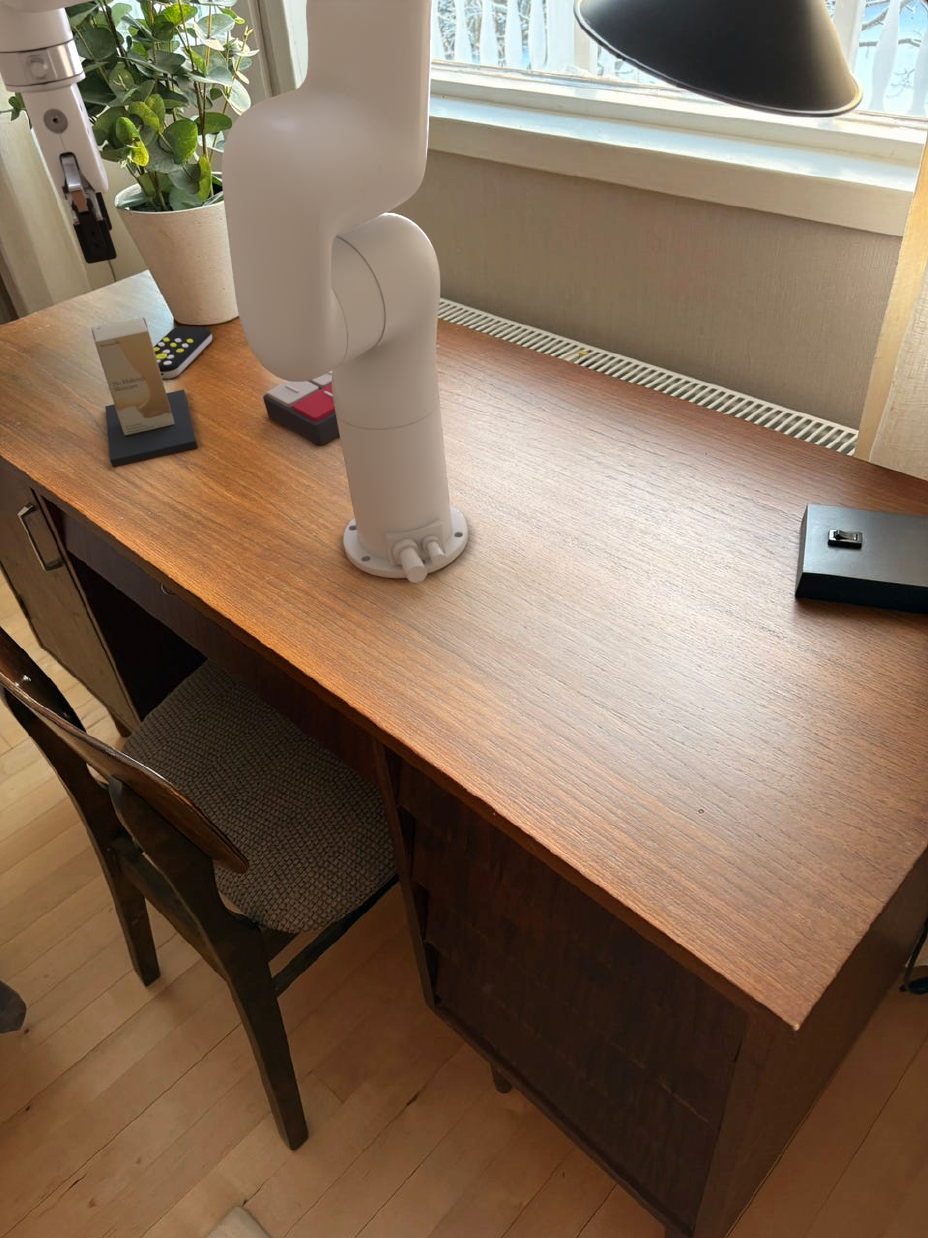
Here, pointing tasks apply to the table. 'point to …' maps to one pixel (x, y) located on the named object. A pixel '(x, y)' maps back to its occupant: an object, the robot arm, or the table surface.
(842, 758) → the table surface
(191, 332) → the remote control
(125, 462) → the desk pad
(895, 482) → the table surface
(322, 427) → the calculator
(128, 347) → the cosmetic box
